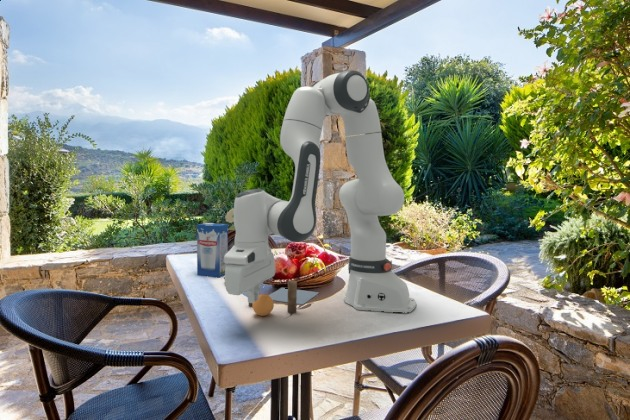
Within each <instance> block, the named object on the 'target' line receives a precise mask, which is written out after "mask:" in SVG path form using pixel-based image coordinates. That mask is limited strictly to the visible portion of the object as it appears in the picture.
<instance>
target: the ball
mask: <svg viewBox="0 0 630 420" xmlns="http://www.w3.org/2000/svg"><path fill="white" fill-rule="evenodd" d="M269 295H270V294H266V293H265V294H264V293H261V294H259V300H257V301H255V302H254V303H253V304H252V306H253V307H252V311H253V312H254V313H255V314H256V315H258V316H261V317H264V316H267V315H270V314H271V312H272V311H273V310H274V307H275V305H274V303H275V301H273V300H272V298H271V297H270V296H269Z"/></svg>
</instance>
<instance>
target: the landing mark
mask: <svg viewBox="0 0 630 420" xmlns="http://www.w3.org/2000/svg"><path fill="white" fill-rule="evenodd" d="M285 288H286V287H280V288H278V289H277V290H275V291H274V292H272V293H270V294H268V295H269V296H270V297H271V298H272V300H273V302H279V303H280V302H281V303H287V304H288V289H285ZM319 294H320V292H317V291H311V290H304V289H303V290H302V289H297V303H296V305H300V306H304V305H305V304H307V303H308V302H309V301H310V300H312V299H314V298H315V297H316V296H318V295H319Z"/></svg>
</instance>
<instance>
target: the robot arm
mask: <svg viewBox="0 0 630 420" xmlns="http://www.w3.org/2000/svg"><path fill="white" fill-rule="evenodd" d="M376 105H377V104H376V103H375V101H374V100H373V99H371V93H370V88H369V84H368V81H367V79H366V77H365V76H364V75H363V74H362V72H360V71H358V70H353V69H352V70H351V69H349V70H348V69H347V70H343V71H340V72H337V73H333V74H330V75H328V76H326V77H324V78H323V79H321V80H318V81H316V82H314V83H313V84H312V85H311V86H305V85H304V86H301V87H298V88H296V89H295V90H294V91H293V94H292V96H291V98H290V100H289V102H288V105H287V107H286V109H285V113H284V117H283V120H282V123H281V124H282V125H281V129H280V137H279V144H280V147H281V149H282V150H283V151H284V153H285V154H286V155H287V156H288V157H289V158H291V159H292V161H293V163H294V167H295V168H294V169H295V170H294V177H293V185H292V191H291V197H290V199H289V201H287V200H282V199H281V198H278V197H275V196H273V195H271V194H269V193H268V192H266V191H265V190H264V189H261V188H254V189H253V188H251V189H246V190H243V191H241V192H239V193H238V194H237V195H236V196H235V198H234V202H233V204H234V205H233V209H234V222H233V225H234V226H235V230H234V231H235V236H234V245H232V247H231V248H230V249H229V250H228V252H227V253H226V254H225V256H224V262H225V263H228V264H227V265H226V268H225V276H224V277H225V279H224V284H225V291H226V292H227V294H229V295H233V296H240V295H242V294H246V296H247V302H248V304H249V303H254V302H255V301H257V300H259V295H260V292H261V288H262V283H263V282H266V281H267V280H269V279H271V278H273V277H275V273H276V262H275V256H274V255H275V254H274V253H273V252H272V248H271V246H270V245H269V236H270V235H276V236H279V237H282V238H284V239H286V240H289V241H290V242H293V243H300V242H301V243H302V242H304V241H306V240H307V239H309V238H310V237H311V236H312V234H313V233H314V231H315V229H316V227H317V211H316V209H317V208H316V199H317V191H318V184H319V176H320V170H321V158H322V157H321V156H322V155H321V151H320V143H321V142H320V141H321V136H322V131H323V126H324V121H325V119H326V117H329V116H336V115H339V116H340V117H341V119H342V121H343V125H344V137H345V146H346V147H345V148H346V155H347V161H348V164H349V165H350V166H351V167H352V168H353V170H354V171H355V174H356V176H357V178H356V179H351V180H349V181H346V182H344V183H343V184H342V185H341V187H340V189H339V193H338V199H339V202H340V204H341V205H342V206H343V208H344V211H345V213H346V217H347V221H348V226H349V232H350V256H349V257H348V264H347V265H348V269H347V270H348V274H349V275H348V281H347V282H348V284H347V287H346V288H347V289H346V293H345V295H344V299H343V301H344V302H345V303H346V304H348V305H349V306H353V308H354V309H355V310H359V311H368V310H371V312H381V311H384V312H383V313H393V312H403V313H402V314H408V313H407V312H409V313H411V312H410V311H412V310H413V309H414V308H415V307H416V308H417V301H416V300H415V298H412V297H410V292H409V291H410V290H409V286H408V285H407V283H406V281H404V280H403V279H401V278H400V277H399V276H398V275H397V274H396V273H395V272H393V271H392V270H393V269H392V268H393V267H392V266H393V260H389V258H386V256H387V255H386V253H387V233H386V231H385V230H384V228H383V227H382V226H381V223H380V221H379V217H384V216H385V217H386V216H390V215H395V214H398V213H399V212H400V210H401V209H402V208H403V206H404V203H405V192H404V190H403V188H402V187H401V185H400V184H398V182H396V180H395V179H394V178H393V175H392V174H391V172H390V169H389V166H388V165H387V162H386V159H385V152H384V146H383V143H384V142H383V137H382V136H383V135H382V127H381V121H380V116H379V112H378V108H377V106H376ZM416 308H415V309H416ZM415 309H414V310H415ZM414 310H413V311H414ZM413 311H412V312H413ZM404 312H405V313H404Z"/></svg>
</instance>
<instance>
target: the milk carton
mask: <svg viewBox="0 0 630 420" xmlns="http://www.w3.org/2000/svg"><path fill="white" fill-rule="evenodd" d="M228 225H229V224H226V223H225V224H224V223H212V222H203V223H198V224H196V266H197V267H196V271H197V272H196V273H197V276H198V277H199V276H200V277H207V276H208V277H209V278H216V277H217V278H218V279H219V278H222V277H225V268H226V265H227V264H228V263H225V262H224V256H225V254H226V253H227V252H229V250H228V249H229V248H228V245H229V244H228V242H229V241H228V239H229V238H228V237H229V236H228V235H229V234H228V233H229V230H228V229H229V227H228Z"/></svg>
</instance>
